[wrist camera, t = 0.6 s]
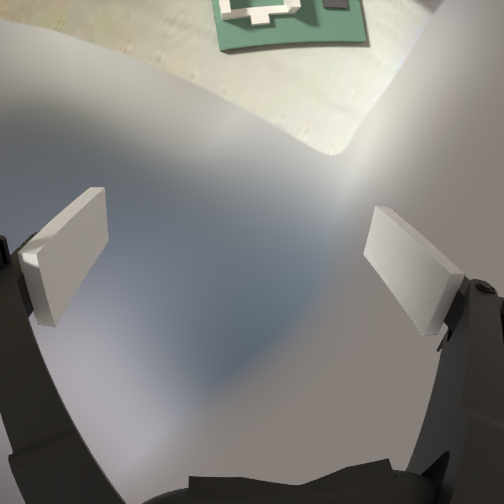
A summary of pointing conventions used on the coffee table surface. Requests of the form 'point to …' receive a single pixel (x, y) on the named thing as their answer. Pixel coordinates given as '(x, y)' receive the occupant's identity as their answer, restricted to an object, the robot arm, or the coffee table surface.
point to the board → (286, 22)
